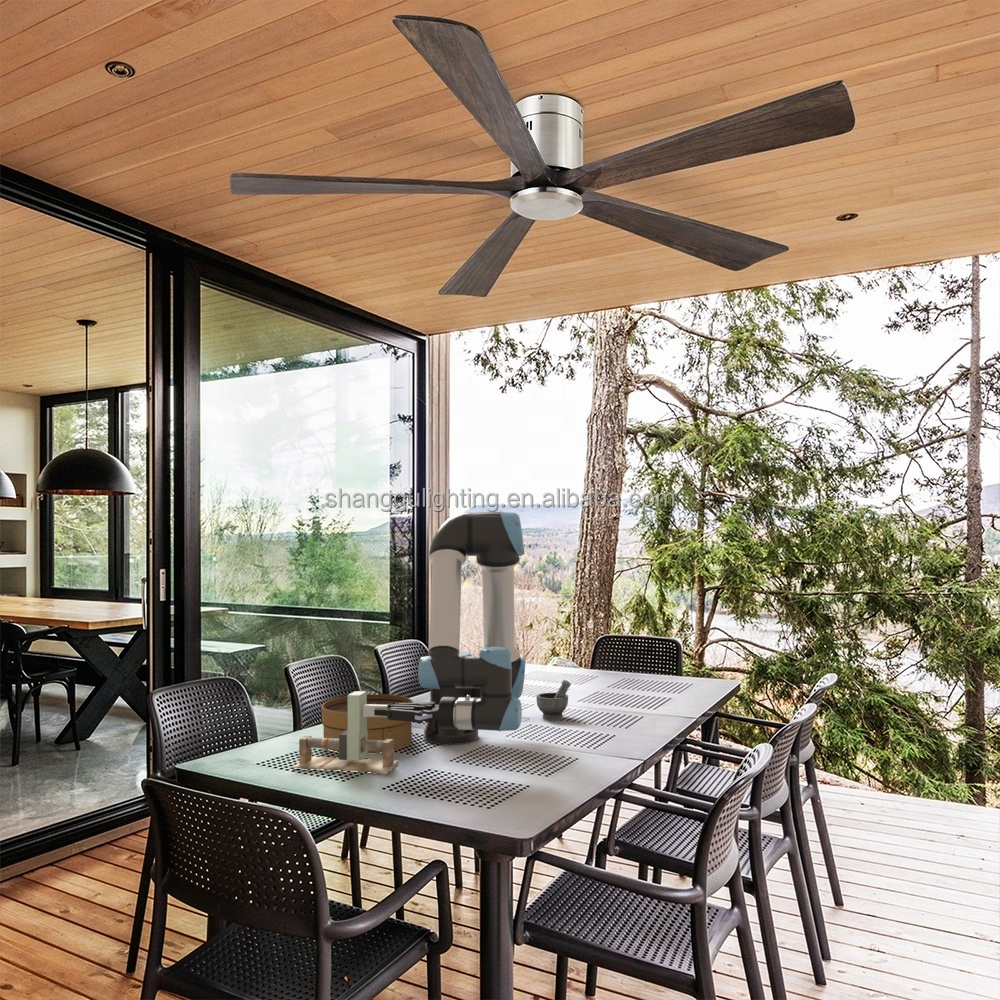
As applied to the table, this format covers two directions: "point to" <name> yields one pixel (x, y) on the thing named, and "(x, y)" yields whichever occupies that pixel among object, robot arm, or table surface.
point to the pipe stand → (346, 765)
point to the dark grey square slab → (343, 745)
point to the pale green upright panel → (356, 725)
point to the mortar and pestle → (554, 702)
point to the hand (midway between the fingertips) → (363, 710)
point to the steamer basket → (376, 726)
